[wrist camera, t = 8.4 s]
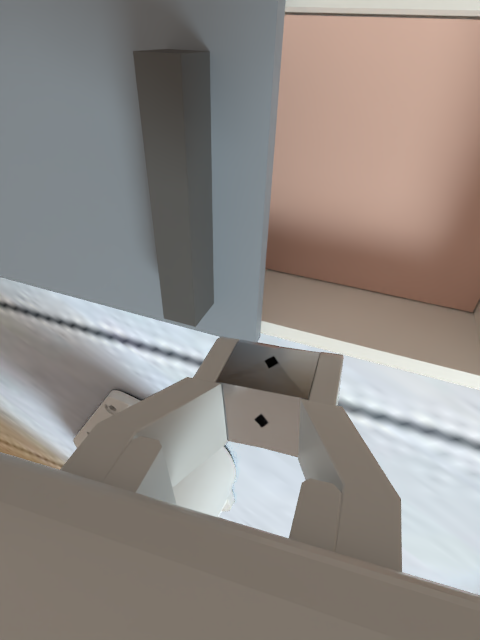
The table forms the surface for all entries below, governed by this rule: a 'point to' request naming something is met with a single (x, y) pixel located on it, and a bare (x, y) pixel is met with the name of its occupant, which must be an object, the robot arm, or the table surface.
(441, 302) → the base
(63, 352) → the table surface
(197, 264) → the grey flat rectangular panel
